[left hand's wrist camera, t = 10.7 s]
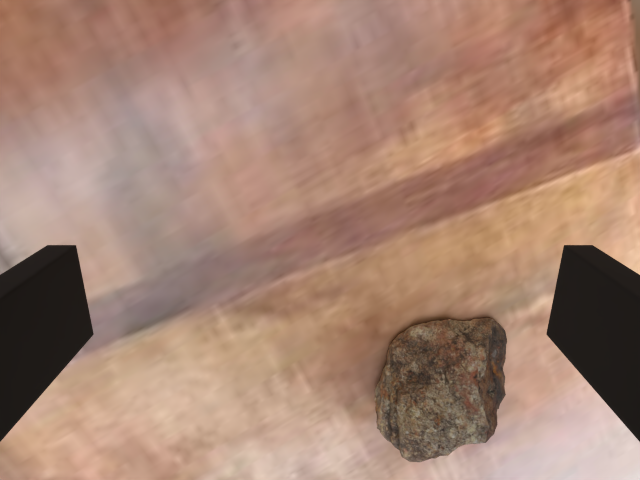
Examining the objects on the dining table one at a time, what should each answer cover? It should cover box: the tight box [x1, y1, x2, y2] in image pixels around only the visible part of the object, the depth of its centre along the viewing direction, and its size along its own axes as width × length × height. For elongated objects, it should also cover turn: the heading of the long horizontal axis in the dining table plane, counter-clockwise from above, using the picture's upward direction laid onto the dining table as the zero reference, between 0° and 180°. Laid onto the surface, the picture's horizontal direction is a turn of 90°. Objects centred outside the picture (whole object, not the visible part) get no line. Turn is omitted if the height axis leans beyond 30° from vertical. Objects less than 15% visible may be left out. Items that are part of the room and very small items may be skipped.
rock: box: [374, 317, 507, 462], centre depth 43 cm, size 14×9×10 cm
